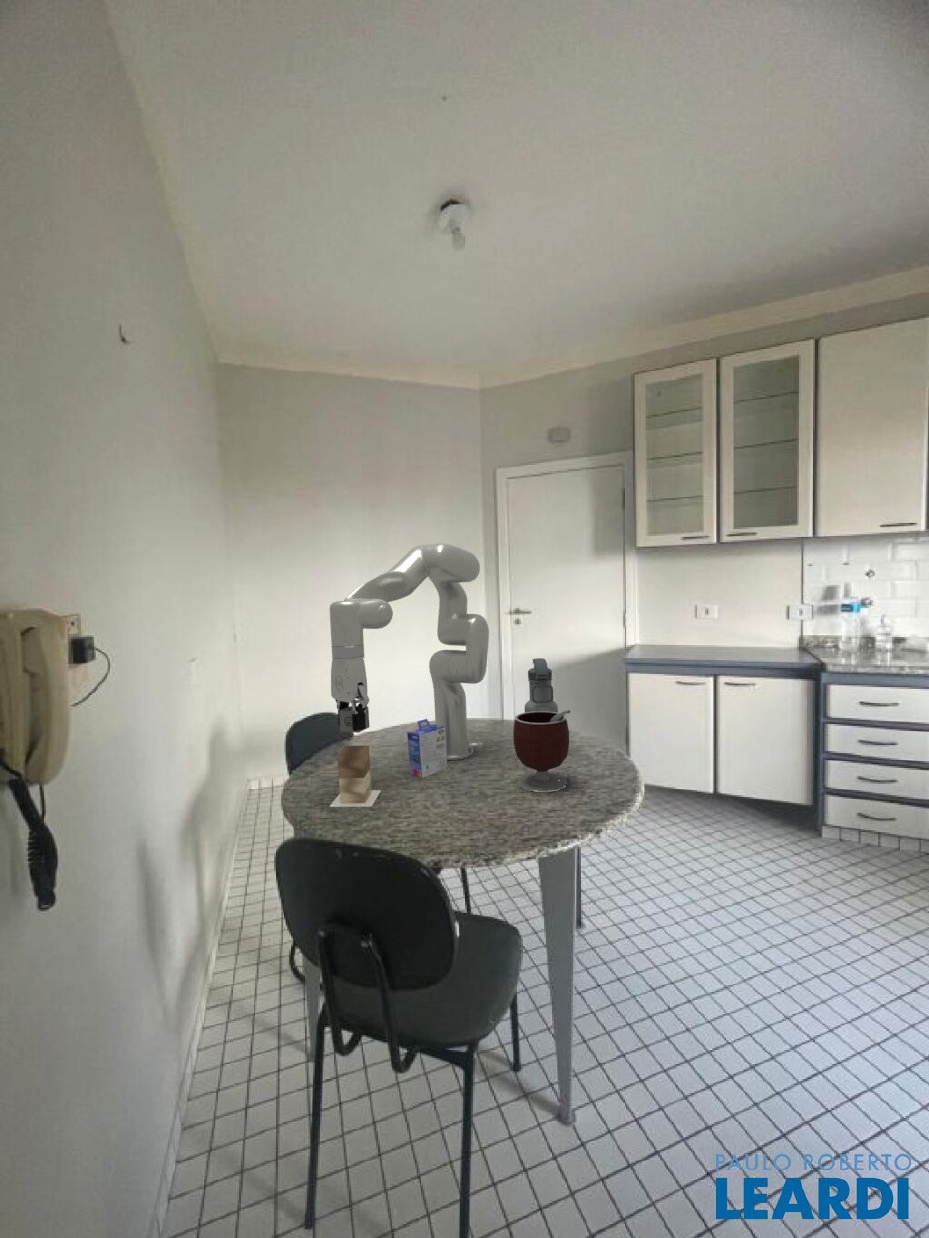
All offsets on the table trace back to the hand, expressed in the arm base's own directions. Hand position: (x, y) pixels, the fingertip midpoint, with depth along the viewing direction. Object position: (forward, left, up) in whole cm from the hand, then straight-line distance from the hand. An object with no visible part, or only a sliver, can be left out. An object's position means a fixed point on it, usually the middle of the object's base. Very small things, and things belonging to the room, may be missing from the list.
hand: (351, 726), depth 132 cm
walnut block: (0, 0, -12) cm, 12 cm away
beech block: (0, 0, -18) cm, 18 cm away
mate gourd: (-46, -9, -18) cm, 50 cm away
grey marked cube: (-1, 0, -1) cm, 1 cm away
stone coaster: (0, 0, -18) cm, 18 cm away
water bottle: (-47, -34, -18) cm, 61 cm away
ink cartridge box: (-15, -19, -18) cm, 30 cm away
